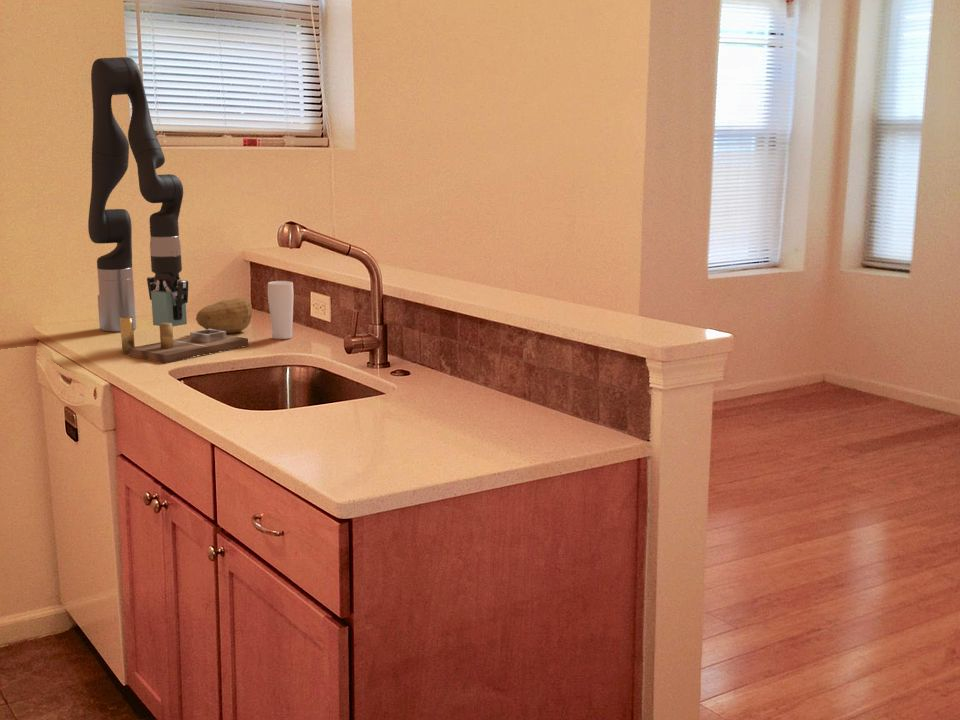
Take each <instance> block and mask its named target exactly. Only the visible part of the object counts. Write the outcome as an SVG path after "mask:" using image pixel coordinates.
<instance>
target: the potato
mask: <svg viewBox="0 0 960 720" xmlns="http://www.w3.org/2000/svg"><path fill="white" fill-rule="evenodd" d="M252 317H253V306H252V304H251V302H250V301H249V299H246V298H243V297H238V298H233V299H224V300H221V301H217V302H214V303H212V304H209V305H207V306H204V307H203V308H201V309H200V310H199V311H198V312H197V313H196V317H195V320H196V322H197V324H198V325H199V326H201V327H202V328H204V330H206V329H214V330H220V331H226V334H234V333H240V332H242V331H243V330H245V329H247V328H248V326H249V325H250V323H251V321H252Z"/></svg>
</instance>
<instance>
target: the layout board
mask: <svg viewBox="0 0 960 720" xmlns="http://www.w3.org/2000/svg"><path fill="white" fill-rule="evenodd" d="M159 325H160V326H159V338H160V340H159V342H154V343H149V344H145V345H139V346H135V347H132V348H129V357H132V358H136V359H137V358H138V359H143V360H146V361H147V360H148V361H154V362H158V363H164V364H169V363H174V362H179V361H183V359H184V360H188V359H187V358H189V359H191V358H190V357H193V356H197V355H203V354H208V355H210V354H209V353H213V354H216V353H215V352H218V353H220V352H219V351H223V352H225V351H224V350H227V351H229V350H228V349H232V350H234V349H233V348H237V349H239V348H238V347H242V346H247V345H248V346H249V338H247V337H240V336H235V335H229V334H227V333H226V331H220V330H214V329H202V330H201V329H200V330H194V331H190V332H189V336H186V337H182V338H175V339H174V335H173V327H172V323H160V324H159ZM248 346H247V347H248ZM242 348H243V347H242ZM203 356H204V355H203Z"/></svg>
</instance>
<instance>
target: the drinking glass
mask: <svg viewBox="0 0 960 720" xmlns="http://www.w3.org/2000/svg"><path fill="white" fill-rule="evenodd" d="M294 293H295V292H294V283H293V281H289V280H276V281H268V282H267V301H268V310H269V317H270V325H271V337H272V338H273V339H274V340H289V339H291V338H292V337H293V322H294V321H293V319H294V300H295V298H294V297H295V296H294Z"/></svg>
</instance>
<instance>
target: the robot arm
mask: <svg viewBox="0 0 960 720" xmlns="http://www.w3.org/2000/svg"><path fill="white" fill-rule="evenodd" d="M137 64H138V63H136V61H135V60H134V59H133V58H131V57H126V56H125V57H124V56H121V57H117V56H116V57H102V58H101V57H100V58H97V59H95V60H94V61H93V64H92V66H91V70H90V80H91V81H90V83H91V100H92V116H93V117H92V143H91V190H90V200H89V201H90V202H89V210H88V220H87V223H88V224H87V227H88V229H87V230H88V236H89V239H90V241H91V242H93V244H102V245H103V244H116V247H115V248H114V249H112V250H111V251H110V252H108V253H106V254H103V255H101V256H99V257H97V260H96V269H97V270H96V271H97V280H98V281H97V283H98V295H97V307H98V309H97V310H98V319H99V329H101V331H104V332H121V325H120V318H121V317H133V329H134V330H136V329H137V319H136V317H137V316H136V300H135V286H134V273H133V272H134V271H133V245H132V243H133V242H132V241H133V240H132V239H133V238H132V236H133V235H132V219H131V214H130V213H129V211H128V210H126V209H123V208H113V209H112V208H111V209H110V208H108V209H106V205H107V202H108V199H109V197H110V195H111V194H112V192H113V191H114V189H115V188H116V187H117V186H118V185H119V183H120V182H121V180H122V179H123V178H124V176H125V174H126V173H127V170H128V168H129V159H130V158H129V156H130V150H131V153H132V154H133V158H134V160H135V163H136V166H137V177H138V185H139V187H138V188H139V191H140V194H141V196H142V197H143V199H144V200H145V201H146V202H148V203H150V204H161V203H162V204H161V207H160V208H159V209H160V210H159V211H157V212H154V213H152V214H150V215H149V234H150V235H149V237H150V241H149V250H150V252H149V253H150V266H151V267H150V268H151V273H153V274H154V276H151V277H150V276H148V277H147V278H146V282H147V283H146V284H147V288H148V289H147V290H148V295H149V299H150V300H149V301H152V299H151V291H166V292H170V296H171V297H172V303H173V305H174V306H173V318H174V320H181V319H182V305H183V304H184V303H186V304H187V303H188V300H189V281H188V280H187V279H185V280H183V279H181V278H180V273H181V272H182V270H183V266H182V265H183V264H182V250H181V249H182V247H181V246H182V245H181V241H180V231H179V217H180V213H181V207H182V204H183V199H184V198H183V197H184V186H183V184H182V183H183V182H182V181H181V180H180V178H179V177H178V176H177V175H175V174H167V173H166V174H158V173H157V171H156V170H157V169H159V168H161V167H162V166H164V164H165V161H166V158H165V154H164V152H163V150H162V147H161V145H160V142H159V138H158V137H157V135H156V132H155V129H154V126H153V121H152V118H151V114H150V108H149V104H148V100H147V95H146V91H145V86H144V82H143V77H142V74H141V71H140V69H139V67H138V65H137ZM120 95H123V96H124V95H127V96H128V98H129V101H130V103H131V117H130V120H129V125H128V130H127V131H128V132H127V136H126V134H125V132H124V130H123V129H122V128H121V126H120V124H119V122H117V120H116V117H115V115H114V113H113V108H112V98H113V96H120ZM175 291H177V293H172V292H175ZM182 295H183V299H182ZM175 296H177V301H176V298H175Z"/></svg>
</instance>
